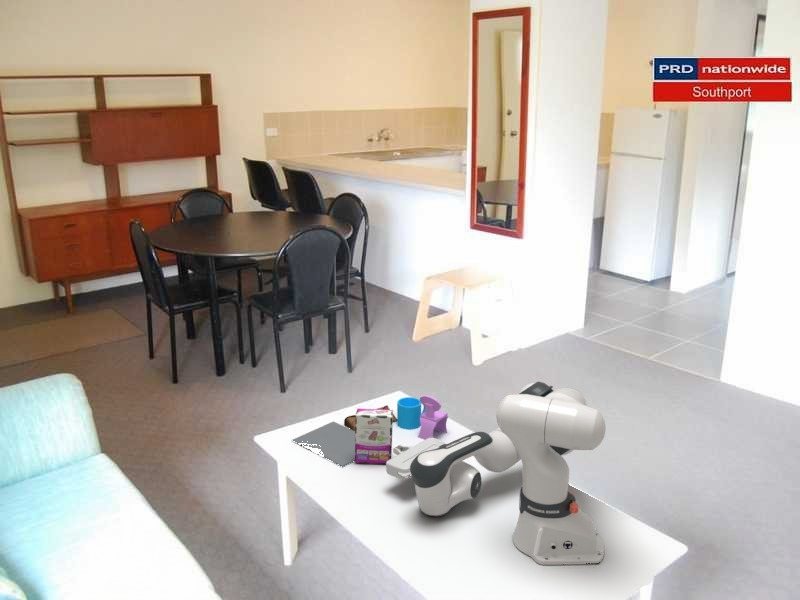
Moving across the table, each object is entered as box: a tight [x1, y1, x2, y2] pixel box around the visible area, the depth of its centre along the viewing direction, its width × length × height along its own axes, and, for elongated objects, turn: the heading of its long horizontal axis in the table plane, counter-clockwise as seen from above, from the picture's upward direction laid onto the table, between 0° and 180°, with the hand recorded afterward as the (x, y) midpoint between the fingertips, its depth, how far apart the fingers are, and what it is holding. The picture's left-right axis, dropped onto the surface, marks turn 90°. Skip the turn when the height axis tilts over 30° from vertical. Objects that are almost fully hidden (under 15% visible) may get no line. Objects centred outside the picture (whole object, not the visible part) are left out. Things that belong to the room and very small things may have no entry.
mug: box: [396, 396, 425, 431], centre depth 240 cm, size 12×8×8 cm
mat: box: [292, 421, 355, 468], centre depth 226 cm, size 24×18×1 cm
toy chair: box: [417, 394, 449, 441], centre depth 230 cm, size 8×9×15 cm
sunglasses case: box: [343, 404, 397, 431], centre depth 241 cm, size 18×7×7 cm, turn 126°
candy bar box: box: [354, 408, 394, 465], centre depth 213 cm, size 11×5×16 cm, turn 88°
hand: (396, 448), depth 208 cm, fingers closed
